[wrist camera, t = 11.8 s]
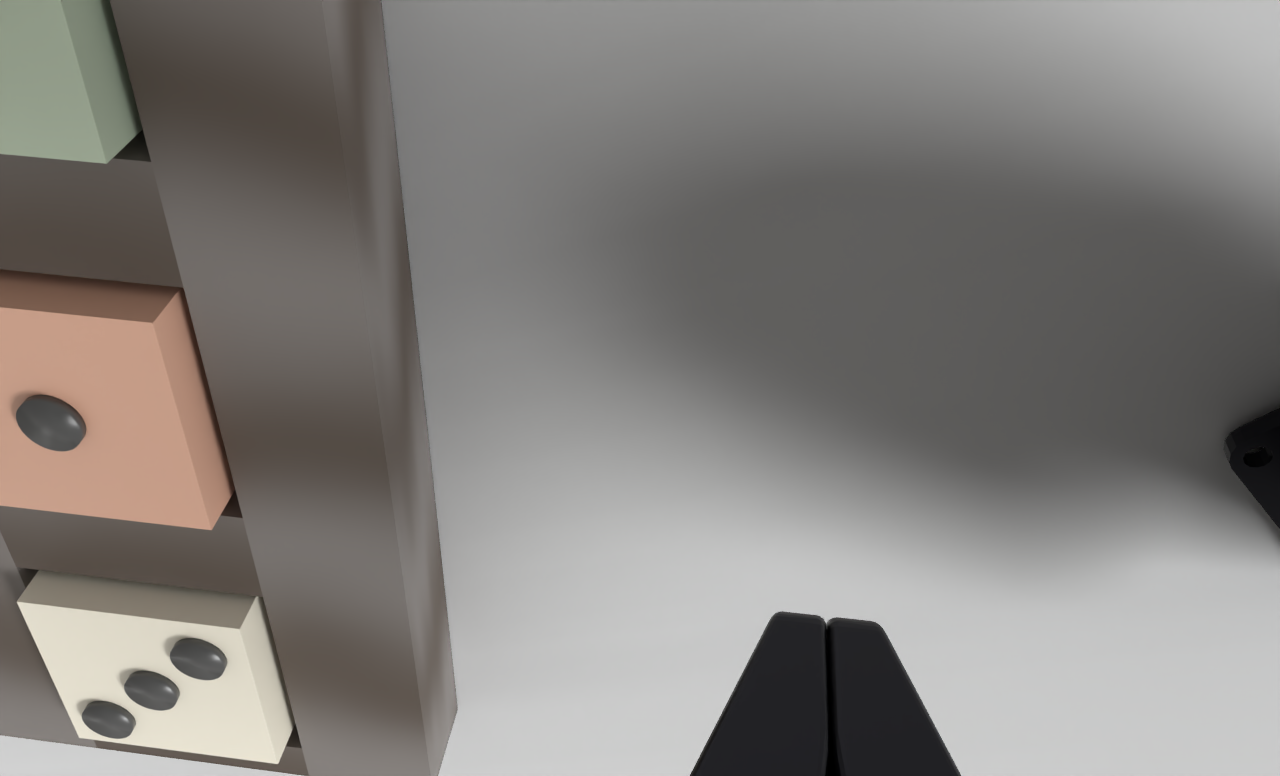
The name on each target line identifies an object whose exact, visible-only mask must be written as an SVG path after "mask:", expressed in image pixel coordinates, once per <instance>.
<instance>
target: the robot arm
mask: <svg viewBox="0 0 1280 776" xmlns="http://www.w3.org/2000/svg"><path fill="white" fill-rule="evenodd" d="M1257 447H1264V448H1263V449H1261V450H1260V451H1258V452H1255V453H1247V452H1248V451H1249V450H1251V449H1253V448H1257ZM1224 451H1225V453H1226V456H1227V458H1228V460H1229V463H1230V465H1231V468H1232V470H1233V471H1234V472H1235V473H1236V475H1237V476H1238V477H1239V478H1240V480H1241V481H1242V482H1243V483H1244V485H1245V486H1246V487H1247V488H1248V490H1249V491H1250V492H1251V493H1252V495H1253V496H1254V497H1255V498H1256V500H1257V501H1258V502H1259V503H1260V505H1261V506H1262V507H1263V508H1264V510H1265V511H1266V512H1267V513H1268V515H1269V516H1270V517H1271V518H1272V520H1273V521H1274V522H1275V523H1276V525H1277V526H1278V527H1279V528H1280V408H1279V409H1277V410H1275V411H1273V412H1271V413H1269V414H1267V415H1264V416H1262V417H1260V418H1258V419H1256V420H1254V421H1252V422H1250V423H1247V424H1245V425H1243V426H1241V427H1239V428H1238V429H1236V430H1234V431H1233V432H1231V433H1230V434H1229V436H1228V437H1227V438H1226V440H1225V443H1224ZM690 776H961V774H960V772H959V770H958V769H957V767H956V765H955V763H954V761H953V759H952V757H951V755H950V753H949V752H948V750H947V748H946V746H945V744H944V742H943V740H942V738H941V736H940V735H939V733H938V731H937V729H936V727H935V725H934V723H933V721H932V719H931V718H930V716H929V714H928V712H927V710H926V708H925V706H924V704H923V702H922V701H921V699H920V697H919V695H918V693H917V691H916V689H915V687H914V685H913V684H912V682H911V680H910V678H909V676H908V674H907V672H906V670H905V668H904V667H903V665H902V663H901V661H900V659H899V657H898V655H897V653H896V651H895V650H894V648H893V646H892V644H891V642H890V640H889V638H888V636H887V635H886V633H885V631H884V630H883V628H882V627H881V626H880V625H879V624H877V623H876V622H872V621H866V620H856V619H847V618H838V617H836V618H832V619H830V620H829V621H828V622H827V624H826V623H825V621H824V619H823V618H821V617H820V616H817V615H810V614H800V613H791V612H778V613H775V614H774V615H773V616H772V617H771V619H770V621H769V623H768V624H767V626H766V628H765V630H764V632H763V634H762V636H761V638H760V640H759V642H758V644H757V646H756V648H755V650H754V652H753V654H752V656H751V658H750V660H749V661H748V663H747V665H746V667H745V669H744V671H743V673H742V675H741V677H740V679H739V681H738V683H737V685H736V687H735V689H734V691H733V693H732V695H731V697H730V698H729V700H728V702H727V704H726V706H725V708H724V710H723V712H722V714H721V716H720V718H719V720H718V722H717V724H716V726H715V728H714V730H713V732H712V734H711V735H710V737H709V739H708V741H707V743H706V745H705V747H704V749H703V751H702V753H701V755H700V757H699V759H698V761H697V763H696V765H695V767H694V769H693V771H692V772H691V774H690Z"/></svg>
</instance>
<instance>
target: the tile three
mask: <svg viewBox="0 0 1280 776" xmlns="http://www.w3.org/2000/svg"><path fill="white" fill-rule="evenodd" d="M17 604H18V606H19V608H20V610H21V612H22V615H23V617H24V619H25V621H26V623H27V626H28V628H29V630H30V632H31V634H32V636H33V639H34V641H35V643H36V645H37V647H38V649H39V652H40V654H41V656H42V658H43V660H44V662H45V665H46V667H47V669H48V671H49V673H50V675H51V678H52V680H53V682H54V684H55V686H56V689H57V691H58V693H59V695H60V697H61V699H62V702H63V704H64V706H65V708H66V710H67V712H68V715H69V717H70V719H71V721H72V723H73V725H74V728H75V730H76V732H77V734H78V736H79V738H84V739H92V740H99V741H107V742H114V743H122V744H130V745H137V746H145V747H152V748H160V749H167V750H175V751H182V752H190V753H198V754H205V755H213V756H220V757H228V758H235V759H243V760H250V761H258V762H266V763H273V764H278V763H279V761H280V758H281V756H282V754H283V751H284V749H285V746H286V744H287V742H288V739H289V737H290V735H291V732H292V730H293V728H294V725H295V719H294V715H293V711H292V708H291V704H290V700H289V696H288V692H287V688H286V684H285V680H284V676H283V673H282V669H281V665H280V661H279V657H278V653H277V649H276V645H275V641H274V638H273V634H272V630H271V626H270V622H269V618H268V614H267V610H266V606H265V603H264V599H263V597H259V596H251V595H242V594H234V593H226V592H218V591H209V590H201V589H193V588H185V587H176V586H168V585H160V584H152V583H143V582H135V581H127V580H119V579H110V578H102V577H94V576H86V575H77V574H69V573H61V572H53V571H44V570H39V571H38V572H37V574H36V575H35V576H34V578H33V579H32V581H31V582H30V583H29V585H28V586H27V588H26V589H25V590H24V592H23V593H22V595H21V596H20V597H19V599H18V600H17Z"/></svg>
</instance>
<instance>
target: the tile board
mask: <svg viewBox="0 0 1280 776" xmlns="http://www.w3.org/2000/svg"><path fill="white" fill-rule="evenodd" d="M110 3H111V7H112V11H113V15H114V19H115V23H116V27H117V31H118V35H119V38H120V42H121V46H122V50H123V54H124V58H125V62H126V66H127V70H128V73H129V77H130V81H131V85H132V89H133V93H134V97H135V101H136V105H137V108H138V112H139V116H140V120H141V124H142V128H143V129H142V130H141V131H140V132H139V133H138V134H137V135H136V136H135V137H134V138H133V139H132V140H131V141H130V142H129V143H128V144H127V145H126V146H125V147H124V148H123V149H122V150H121V151H120V152H119V153H118V154H116V155H115V156H114V157H113V158H112V159H111V160H110V161H109V162H108V163H107V164H104V163H93V162H83V161H72V160H61V159H50V158H40V157H29V156H18V155H7V154H0V269H3V270H13V271H22V272H32V273H42V274H52V275H62V276H72V277H82V278H92V279H102V280H112V281H122V282H132V283H141V284H151V285H161V286H171V287H181V288H184V291H185V295H186V299H187V303H188V307H189V311H190V315H191V319H192V322H193V326H194V330H195V334H196V338H197V342H198V346H199V350H200V354H201V357H202V361H203V365H204V369H205V373H206V377H207V381H208V385H209V389H210V392H211V396H212V400H213V404H214V408H215V412H216V416H217V420H218V424H219V427H220V431H221V435H222V439H223V443H224V447H225V451H226V455H227V459H228V462H229V466H230V470H231V474H232V478H233V482H234V486H235V491H234V492H233V494H232V496H231V498H230V499H229V501H228V503H227V505H226V506H225V508H224V510H223V511H222V513H221V515H220V517H219V518H218V520H217V522H216V524H215V525H214V527H213V529H212V530H205V529H197V528H188V527H180V526H171V525H163V524H154V523H145V522H137V521H128V520H120V519H111V518H103V517H94V516H86V515H77V514H69V513H60V512H52V511H43V510H34V509H26V508H17V507H9V506H0V735H3V736H11V737H18V738H26V739H34V740H41V741H49V742H56V743H64V744H71V745H79V746H86V747H94V748H101V749H109V750H116V751H124V752H131V753H139V754H146V755H154V756H161V757H169V758H176V759H184V760H192V761H199V762H207V763H214V764H222V765H229V766H237V767H244V768H252V769H259V770H267V771H274V772H282V773H289V774H297V775H304V776H438V774H439V771H440V767H441V764H442V760H443V757H444V754H445V750H446V747H447V743H448V740H449V737H450V733H451V730H452V726H453V723H454V720H455V716H456V713H457V710H458V709H457V699H456V690H455V681H454V672H453V662H452V653H451V644H450V635H449V625H448V616H447V607H446V597H445V588H444V579H443V570H442V560H441V551H440V542H439V533H438V523H437V514H436V505H435V496H434V486H433V477H432V468H431V459H430V449H429V440H428V431H427V422H426V412H425V403H424V394H423V385H422V375H421V366H420V357H419V347H418V338H417V329H416V320H415V310H414V301H413V292H412V283H411V273H410V264H409V255H408V246H407V236H406V227H405V218H404V209H403V199H402V190H401V181H400V172H399V162H398V153H397V144H396V134H395V125H394V116H393V107H392V97H391V88H390V79H389V70H388V60H387V51H386V42H385V33H384V23H383V14H382V5H381V0H110ZM39 570H44V571H53V572H61V573H69V574H77V575H86V576H94V577H102V578H110V579H119V580H127V581H135V582H143V583H152V584H160V585H168V586H176V587H185V588H193V589H201V590H209V591H218V592H226V593H234V594H242V595H251V596H259V597H263V599H264V603H265V606H266V610H267V614H268V618H269V622H270V626H271V630H272V634H273V638H274V641H275V645H276V649H277V653H278V657H279V661H280V665H281V669H282V673H283V676H284V680H285V684H286V688H287V692H288V696H289V700H290V704H291V708H292V711H293V715H294V719H295V725H294V728H293V730H292V732H291V735H290V737H289V739H288V742H287V744H286V746H285V749H284V751H283V754H282V756H281V758H280V761H279V763H278V764H273V763H266V762H258V761H250V760H243V759H235V758H228V757H220V756H213V755H205V754H198V753H190V752H182V751H175V750H167V749H160V748H152V747H145V746H137V745H130V744H122V743H114V742H107V741H99V740H92V739H84V738H79V736H78V734H77V732H76V730H75V728H74V725H73V723H72V721H71V719H70V717H69V715H68V712H67V710H66V708H65V706H64V704H63V702H62V699H61V697H60V695H59V693H58V691H57V689H56V686H55V684H54V682H53V680H52V678H51V675H50V673H49V671H48V669H47V667H46V665H45V662H44V660H43V658H42V656H41V654H40V652H39V649H38V647H37V645H36V643H35V641H34V639H33V636H32V634H31V632H30V630H29V628H28V626H27V623H26V621H25V619H24V617H23V615H22V612H21V610H20V608H19V606H18V604H17V600H18V599H19V597H20V596H21V595H22V593H23V592H24V590H25V589H26V588H27V586H28V585H29V583H30V582H31V581H32V579H33V578H34V576H35V575H36V574H37V572H38V571H39Z"/></svg>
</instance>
